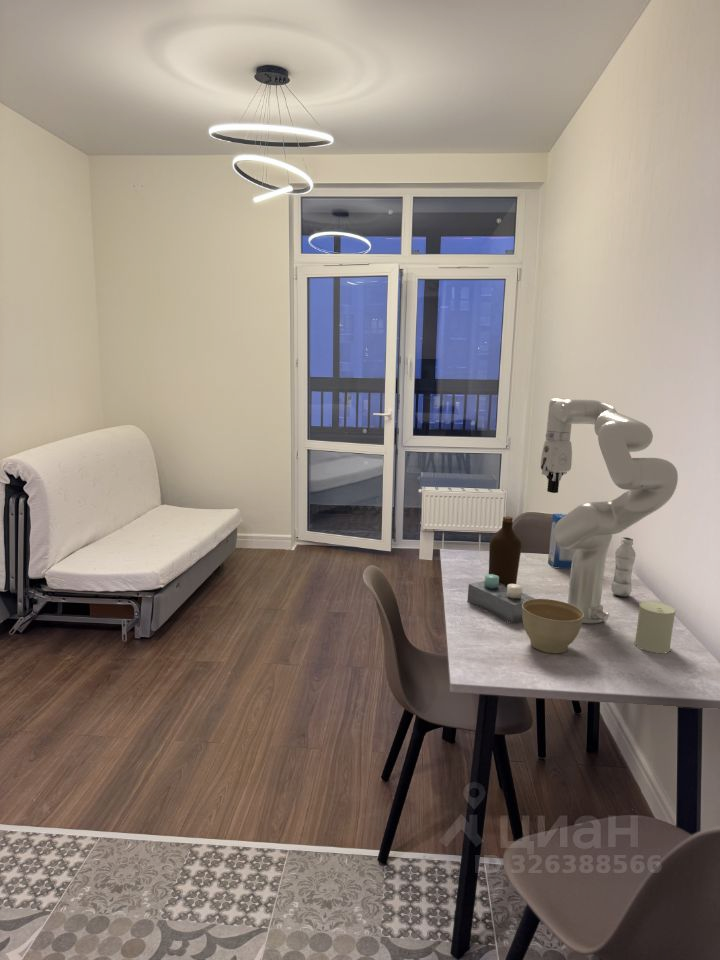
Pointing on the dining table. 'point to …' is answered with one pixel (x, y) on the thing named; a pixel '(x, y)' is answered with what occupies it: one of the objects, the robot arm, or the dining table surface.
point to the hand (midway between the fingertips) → (552, 492)
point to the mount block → (497, 601)
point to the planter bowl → (551, 624)
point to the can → (654, 626)
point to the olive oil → (505, 553)
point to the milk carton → (559, 549)
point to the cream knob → (514, 591)
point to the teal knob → (491, 581)
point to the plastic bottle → (623, 568)
